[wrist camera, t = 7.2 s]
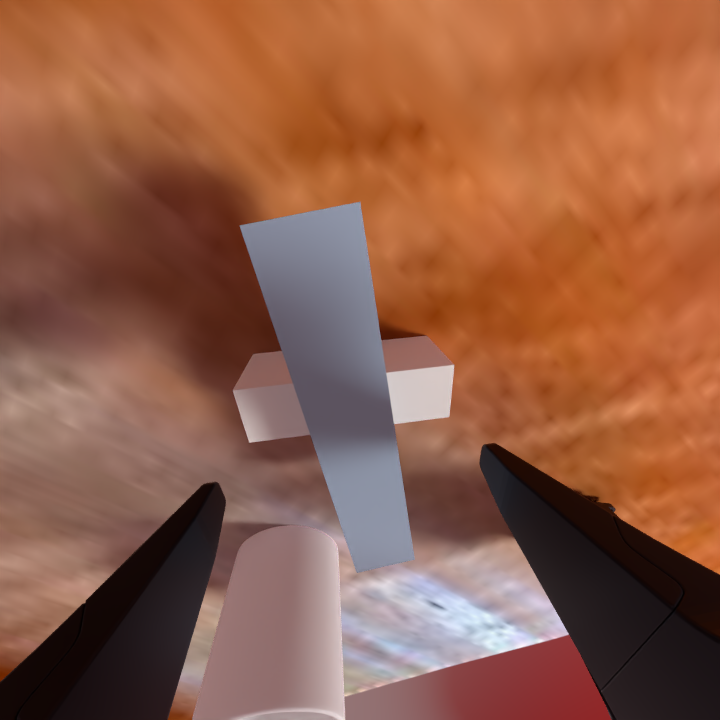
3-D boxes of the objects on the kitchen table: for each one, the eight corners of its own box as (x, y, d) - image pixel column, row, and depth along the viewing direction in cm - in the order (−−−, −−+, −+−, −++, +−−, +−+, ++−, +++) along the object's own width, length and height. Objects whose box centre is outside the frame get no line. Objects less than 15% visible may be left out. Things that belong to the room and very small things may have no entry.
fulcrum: (431, 251, 15) (476, 261, 11) (423, 422, 20) (451, 477, 16) (228, 268, 14) (184, 286, 10) (274, 442, 20) (260, 505, 15)
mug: (273, 594, 28) (246, 783, 19) (224, 525, 23) (151, 739, 13) (354, 575, 28) (368, 752, 19) (324, 501, 23) (323, 696, 13)
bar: (400, 505, 17) (414, 559, 14) (351, 516, 16) (356, 572, 14) (350, 209, 9) (360, 201, 7) (264, 225, 9) (239, 225, 7)
